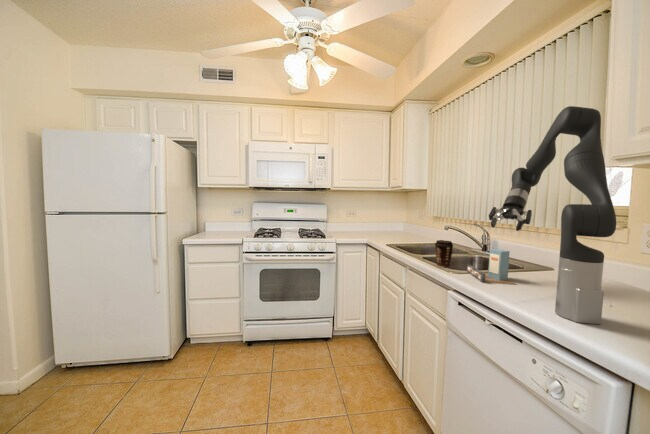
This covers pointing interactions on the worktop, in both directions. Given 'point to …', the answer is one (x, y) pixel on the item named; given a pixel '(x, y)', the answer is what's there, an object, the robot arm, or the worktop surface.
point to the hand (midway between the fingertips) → (504, 227)
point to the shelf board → (485, 276)
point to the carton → (498, 264)
